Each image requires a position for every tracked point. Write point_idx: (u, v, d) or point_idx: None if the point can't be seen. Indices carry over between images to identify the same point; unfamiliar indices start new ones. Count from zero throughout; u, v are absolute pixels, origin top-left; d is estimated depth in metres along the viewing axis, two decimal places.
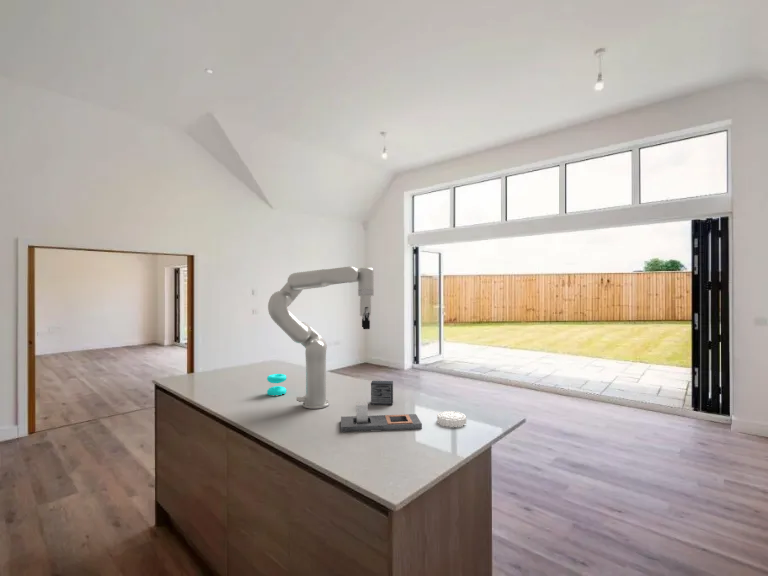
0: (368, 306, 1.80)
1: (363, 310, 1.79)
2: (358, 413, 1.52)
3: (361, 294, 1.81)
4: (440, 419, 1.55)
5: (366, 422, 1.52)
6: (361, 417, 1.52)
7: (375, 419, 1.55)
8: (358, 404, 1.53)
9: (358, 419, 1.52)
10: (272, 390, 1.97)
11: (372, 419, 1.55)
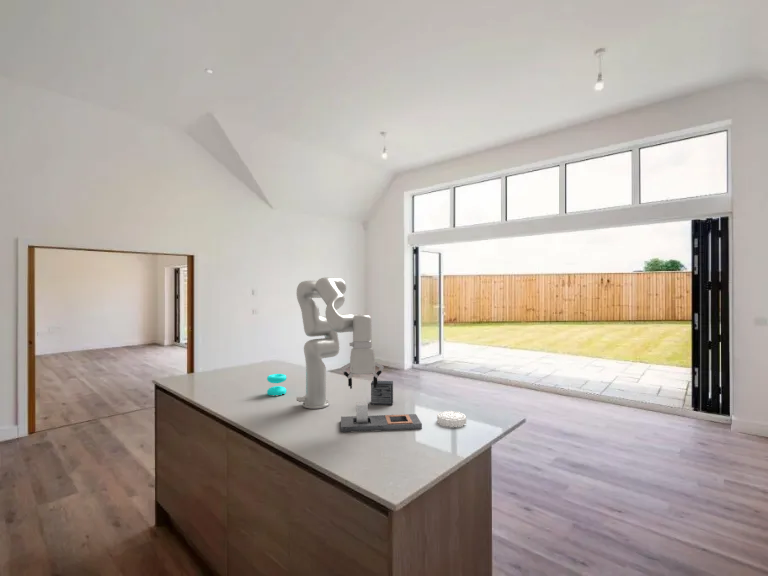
0: None
1: (375, 365, 1.53)
2: (358, 413, 1.52)
3: (369, 347, 1.52)
4: (440, 419, 1.55)
5: (366, 422, 1.52)
6: (361, 417, 1.52)
7: (375, 419, 1.55)
8: (358, 404, 1.53)
9: (358, 419, 1.52)
10: (272, 390, 1.97)
11: (372, 419, 1.55)
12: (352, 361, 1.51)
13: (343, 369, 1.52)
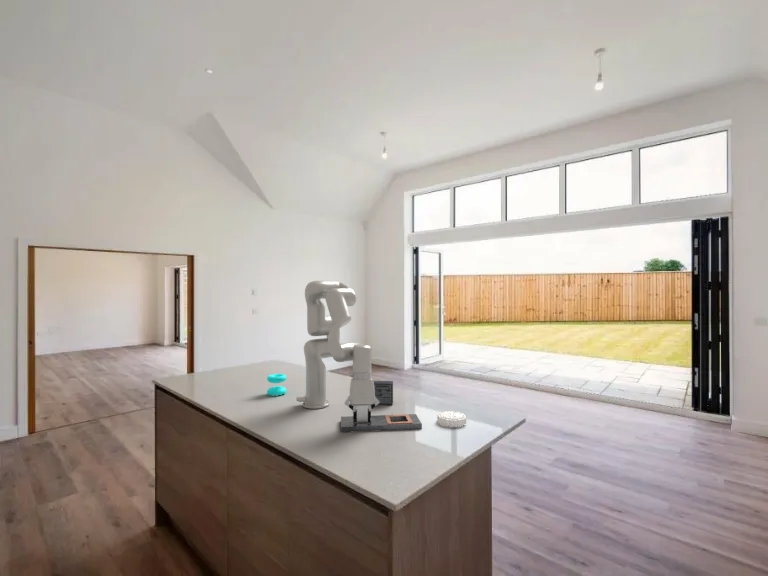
0: None
1: (374, 396, 1.53)
2: (358, 413, 1.52)
3: (369, 378, 1.52)
4: (440, 419, 1.55)
5: (366, 422, 1.52)
6: (361, 417, 1.52)
7: (375, 419, 1.55)
8: None
9: (358, 419, 1.52)
10: (272, 390, 1.97)
11: (372, 419, 1.55)
12: (352, 392, 1.51)
13: (347, 403, 1.53)
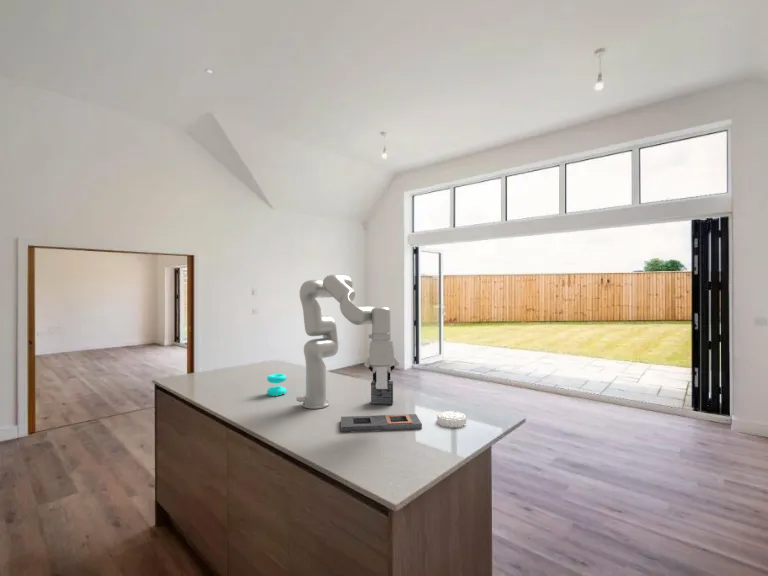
0: None
1: None
2: (378, 374, 1.52)
3: (388, 339, 1.53)
4: (440, 419, 1.55)
5: (386, 383, 1.53)
6: (381, 378, 1.52)
7: (375, 419, 1.55)
8: None
9: (378, 380, 1.52)
10: (272, 390, 1.97)
11: (372, 419, 1.55)
12: (371, 353, 1.52)
13: (366, 365, 1.54)
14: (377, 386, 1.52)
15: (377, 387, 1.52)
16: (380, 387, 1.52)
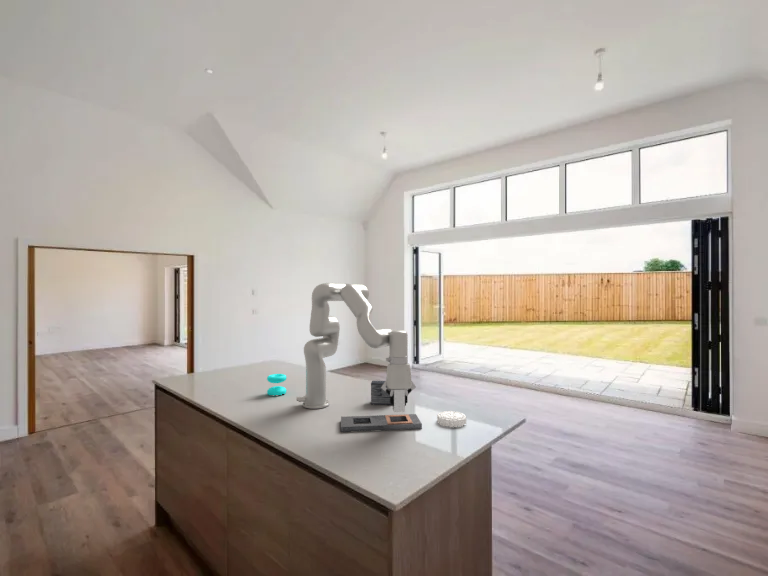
0: None
1: (411, 381, 1.55)
2: (395, 397, 1.53)
3: (406, 363, 1.54)
4: (440, 419, 1.55)
5: (403, 406, 1.53)
6: (398, 402, 1.53)
7: (375, 419, 1.55)
8: (395, 389, 1.54)
9: (395, 403, 1.53)
10: (272, 390, 1.97)
11: (372, 419, 1.55)
12: (389, 376, 1.53)
13: (384, 388, 1.54)
14: (395, 409, 1.53)
15: (395, 410, 1.53)
16: (398, 410, 1.53)
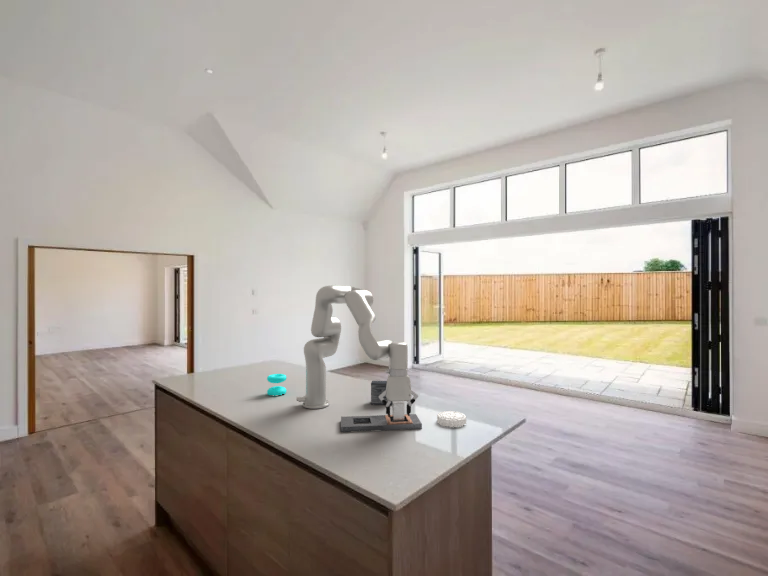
0: None
1: (411, 392, 1.55)
2: (395, 412, 1.53)
3: (406, 375, 1.54)
4: (440, 419, 1.55)
5: (403, 421, 1.53)
6: (398, 416, 1.53)
7: (375, 419, 1.55)
8: (394, 403, 1.55)
9: (395, 418, 1.53)
10: (272, 390, 1.97)
11: (372, 419, 1.55)
12: (389, 388, 1.53)
13: (381, 397, 1.54)
14: None
15: None
16: None
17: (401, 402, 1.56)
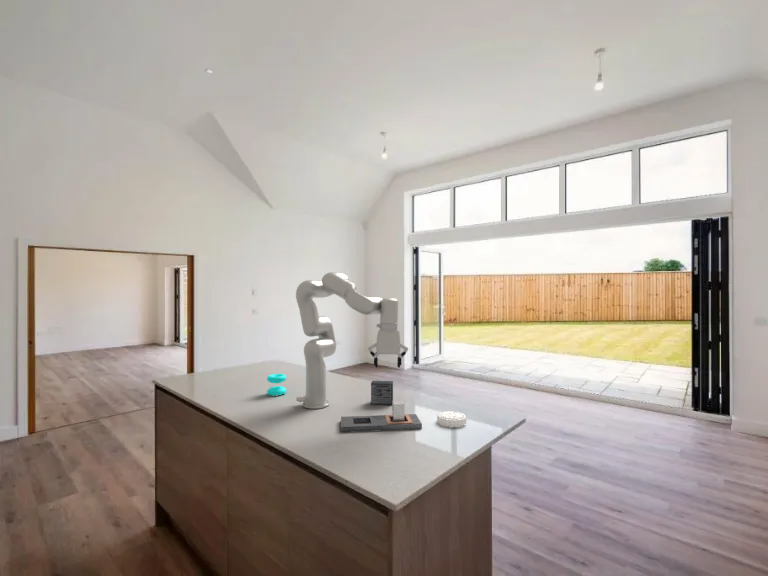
0: None
1: None
2: (395, 412, 1.53)
3: (396, 329, 1.60)
4: (440, 419, 1.55)
5: (403, 421, 1.53)
6: (398, 416, 1.53)
7: (375, 419, 1.55)
8: (395, 403, 1.55)
9: (395, 418, 1.53)
10: (272, 390, 1.97)
11: (372, 419, 1.55)
12: (379, 341, 1.59)
13: (370, 349, 1.61)
14: None
15: None
16: None
17: (401, 402, 1.56)
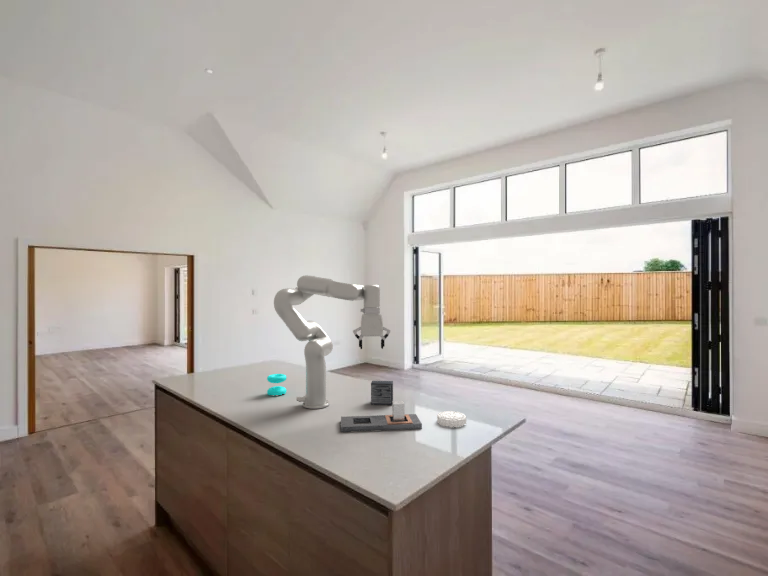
0: None
1: (382, 329, 1.74)
2: (395, 412, 1.53)
3: (378, 313, 1.73)
4: (440, 419, 1.55)
5: (403, 421, 1.54)
6: (398, 416, 1.53)
7: (375, 419, 1.55)
8: (395, 403, 1.55)
9: (395, 418, 1.53)
10: (272, 390, 1.97)
11: (372, 419, 1.55)
12: (363, 325, 1.72)
13: (354, 332, 1.73)
14: None
15: None
16: None
17: (401, 402, 1.56)
